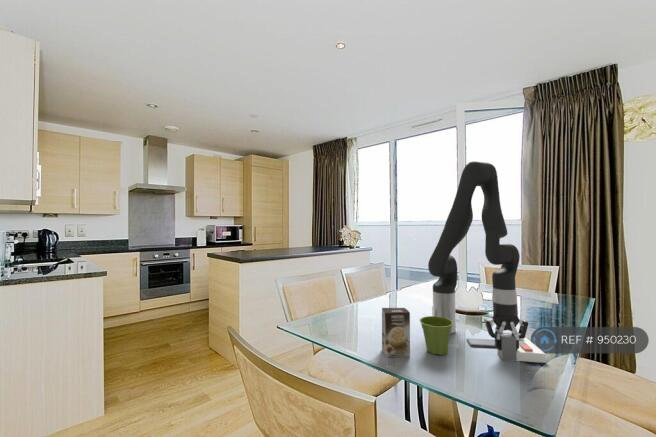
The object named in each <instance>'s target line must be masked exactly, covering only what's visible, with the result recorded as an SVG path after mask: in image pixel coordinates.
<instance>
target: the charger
mask: <svg viewBox="0 0 656 437" xmlns="http://www.w3.org/2000/svg"><path fill="white" fill-rule="evenodd" d="M500 340H501V350H498V349H497V355H498V356H499V358H500V360H502V361H508V362H509V361H510V362H511V361H512V362H517V361H516V337H515V336H514V335H512V334H511V332H503V333H502V334H501V338H500Z"/></svg>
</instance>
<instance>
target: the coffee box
mask: <svg viewBox="0 0 656 437" xmlns="http://www.w3.org/2000/svg"><path fill="white" fill-rule="evenodd" d="M381 351H382V353H383V355H384V357H385V358H404V357H405V358H406V357H407V358H408V357H409V358H410V357H411V313H410V311H409V310H408V309H407V308H405V307H381Z"/></svg>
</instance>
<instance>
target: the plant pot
mask: <svg viewBox="0 0 656 437" xmlns="http://www.w3.org/2000/svg"><path fill="white" fill-rule="evenodd" d="M418 321H419V322H420V325H421V328H422V332H423V336H424V340H425V341H424V342H425V347H426V351H427V352H428V353H430V354H432V355H439V356H442V355H446V354H448V349H449V341H450V336H451V334H450V331H451V326H452V325H453V321H451V320H450V319H447V318H444V317H438V316H432V315H430V316H429V315H428V316H423V317H421V318H420V319H419V320H418Z"/></svg>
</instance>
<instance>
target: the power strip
mask: <svg viewBox="0 0 656 437" xmlns="http://www.w3.org/2000/svg"><path fill="white" fill-rule="evenodd" d="M510 333H511V332H510ZM511 334H512V333H511ZM515 362H530V363H544V364H546V353H545V352H544V351H543V350H541V349H540V347H538V346H536V344H534V343H533V342H532V341H531V340H529V339H528V338H527V337H526V336H525V338H524V339H523V338H521V339H519V349H518V350H517V351H516V361H515Z"/></svg>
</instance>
